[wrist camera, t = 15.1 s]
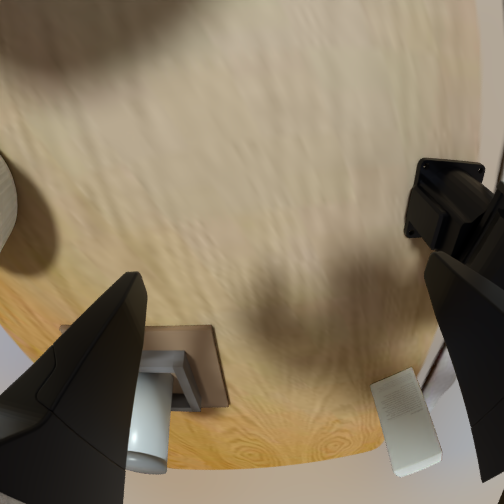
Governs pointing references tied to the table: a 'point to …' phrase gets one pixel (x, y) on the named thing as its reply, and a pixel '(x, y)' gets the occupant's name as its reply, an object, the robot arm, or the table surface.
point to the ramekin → (7, 203)
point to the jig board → (185, 364)
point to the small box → (406, 423)
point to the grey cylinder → (150, 424)
